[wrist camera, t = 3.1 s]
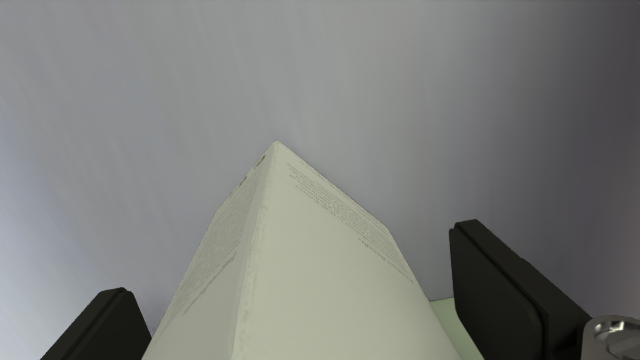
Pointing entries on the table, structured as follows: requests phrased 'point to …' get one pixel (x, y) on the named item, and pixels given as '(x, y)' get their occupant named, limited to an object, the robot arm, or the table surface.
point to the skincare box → (297, 280)
